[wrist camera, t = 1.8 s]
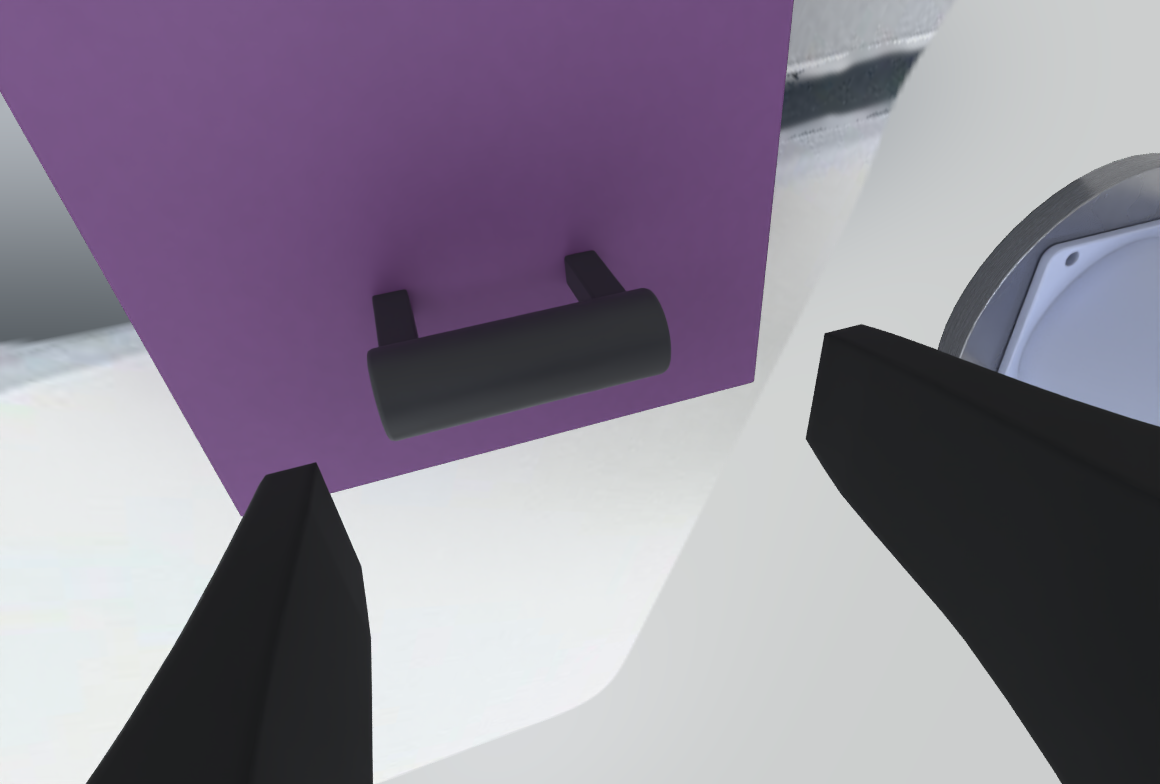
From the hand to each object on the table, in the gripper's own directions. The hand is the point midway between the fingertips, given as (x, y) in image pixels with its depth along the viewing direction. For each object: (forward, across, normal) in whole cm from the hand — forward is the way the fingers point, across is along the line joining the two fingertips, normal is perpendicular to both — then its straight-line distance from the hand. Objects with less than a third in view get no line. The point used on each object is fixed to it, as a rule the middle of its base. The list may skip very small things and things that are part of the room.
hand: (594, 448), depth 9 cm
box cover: (+6, 0, -2) cm, 7 cm away
